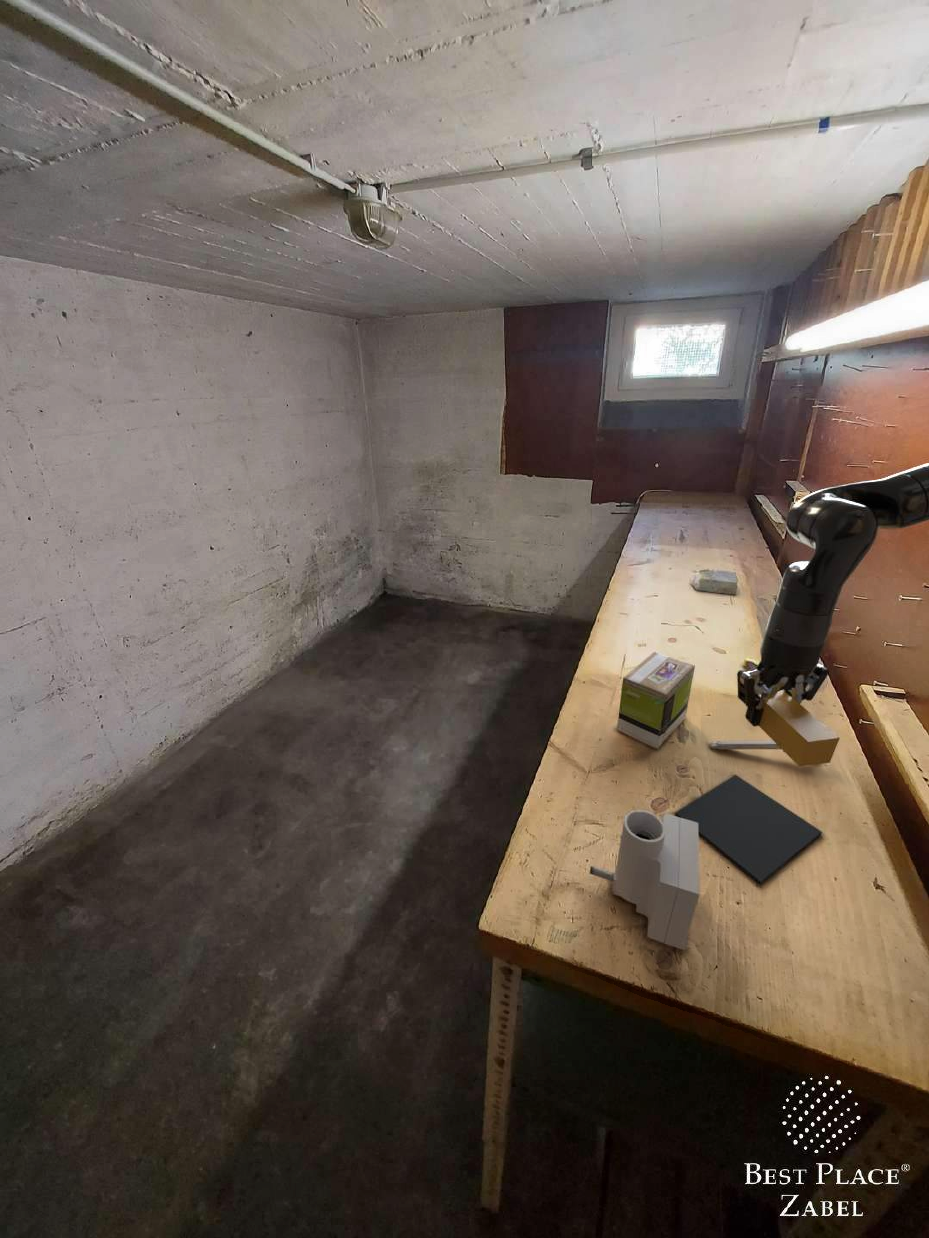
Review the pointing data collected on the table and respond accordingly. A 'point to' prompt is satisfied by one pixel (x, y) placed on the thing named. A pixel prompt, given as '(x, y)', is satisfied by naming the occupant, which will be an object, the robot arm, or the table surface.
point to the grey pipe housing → (658, 873)
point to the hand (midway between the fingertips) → (767, 720)
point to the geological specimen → (715, 581)
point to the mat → (749, 827)
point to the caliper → (745, 745)
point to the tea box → (655, 698)
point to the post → (797, 731)
